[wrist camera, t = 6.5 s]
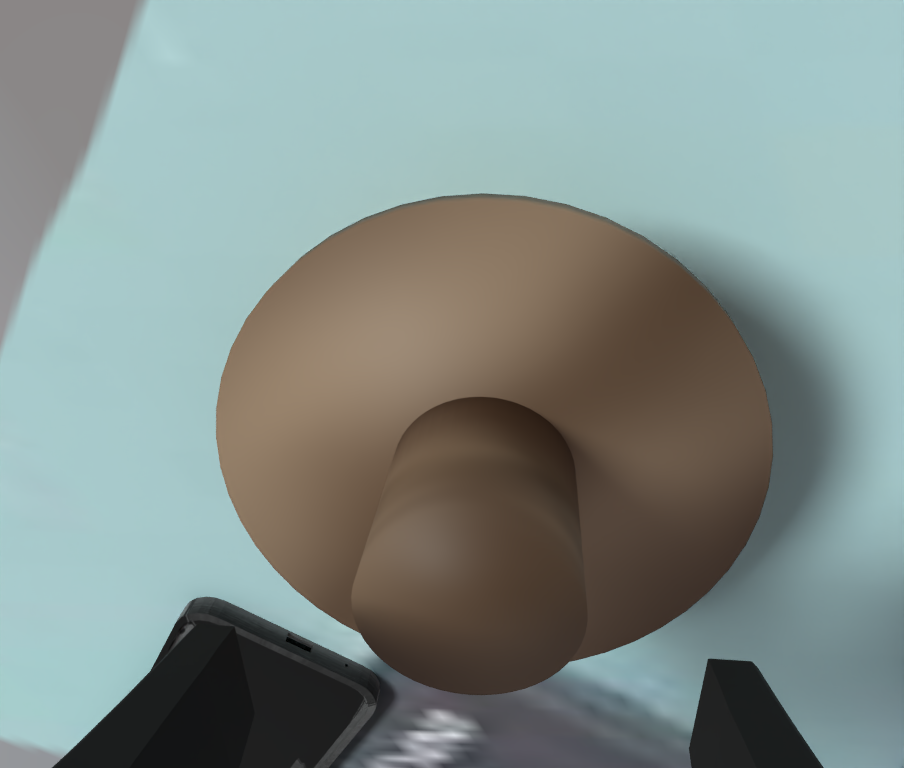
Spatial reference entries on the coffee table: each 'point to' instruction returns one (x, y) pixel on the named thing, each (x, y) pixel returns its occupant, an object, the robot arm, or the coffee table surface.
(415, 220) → the walnut lid
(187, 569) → the coffee table surface
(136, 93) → the coffee table surface
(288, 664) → the phone
